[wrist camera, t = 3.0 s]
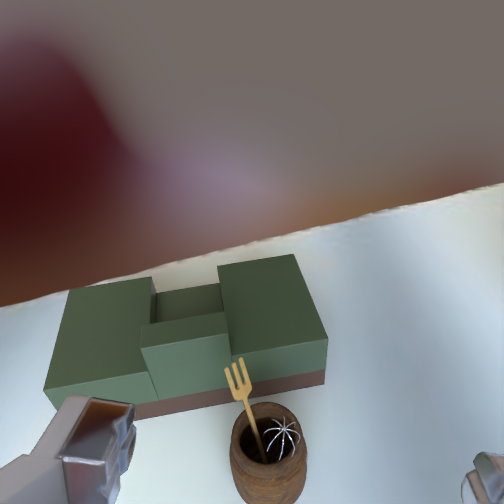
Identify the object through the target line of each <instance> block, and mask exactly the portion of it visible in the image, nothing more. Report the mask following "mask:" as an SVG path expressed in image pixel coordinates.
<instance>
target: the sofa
mask: <svg viewBox="0 0 504 504" xmlns="http://www.w3.org/2000/svg"><path fill="white" fill-rule="evenodd" d="M217 269H218V276H219V283H216V284H210V285H204V286H198V287H191V288H185V289H179V290H173V291H167V292H161V293H156V290H155V287H154V283H153V280H152V277H146V278H139V279H133V280H127V281H121V282H114V283H108V284H102V285H96V286H89V287H83V288H77V289H70V290H69V294H68V298H67V302H66V305H65V309H64V313H63V317H62V321H61V324H60V328H59V332H58V336H57V340H56V343H55V347H54V351H53V355H52V359H51V362H50V366H49V370H48V374H47V378H46V381H45V385H44V389H43V391H44V393H45V394H46V396H47V397H48V398H49V400H50V401H51V403H52V404H53V406H54V407H55V408H56V410H57V411H58V410H59V408H60V407H61V405H62V403H63V402H64V400H65V399H66V398H67V397H68V396H70V395H71V394H76V395H83V396H89V397H96V398H102V399H108V400H114V401H120V402H126V403H132V404H135V408H136V416H135V418H134V421H136V420H141V419H147V418H152V417H157V416H162V415H167V414H172V413H178V412H183V411H188V410H193V409H198V408H203V407H209V406H214V405H219V404H224V403H229V402H234V401H236V400H235V399H234V398H233V395H232V392H231V389H230V386H229V383H228V380H227V377H226V374H225V371H224V369H225V368H226V367H228V368H229V371H230V374H231V377H232V380H233V382H234V385H235V388H237V387H238V384H237V381H236V378H235V375H234V371H233V368H232V363H233V362H235V363H236V366H237V369H238V372H239V375H240V378H241V380H242V383H244V381H245V380H244V377H243V373H242V370H241V367H240V363H239V358H240V357H242V358H243V361H244V364H245V367H246V370H247V373H248V376H249V379H250V382H251V386H252V390H251V391H250V393H249V395H248V397H247V399H250V398H255V397H260V396H265V395H271V394H276V393H281V392H286V391H291V390H296V389H302V388H307V387H312V386H317V385H322V384H324V379H325V367H326V357H327V346H328V337H327V334H326V332H325V329H324V327H323V325H322V322H321V320H320V317H319V315H318V312H317V310H316V308H315V305H314V303H313V300H312V298H311V295H310V293H309V290H308V288H307V286H306V283H305V281H304V278H303V276H302V273H301V271H300V269H299V266H298V264H297V261H296V259H295V256H294V254H289V255H283V256H277V257H270V258H264V259H258V260H252V261H245V262H239V263H233V264H227V265H220V266H217ZM239 401H240V400H239Z"/></svg>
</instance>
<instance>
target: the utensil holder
mask: <svg viewBox="0 0 504 504" xmlns="http://www.w3.org/2000/svg"><path fill="white" fill-rule="evenodd" d="M239 363H240V367H241V370H242V373H243V377H244V380H245V381H244V383H242V380H241V378H240V375H239V372H238V369H237V366H236V363H235V362H233V363H232V368H233V371H234V375H235V378H236V381H237V384H238V387H237V388H235V385H234V382H233V380H232V377H231V374H230V371H229V368H228V367H226V368H225V369H224V371H225V374H226V377H227V380H228V383H229V386H230V389H231V392H232V395H233V398H234V399H235V400H236V401H239V400H243V403H244V406H245V410H244V411H243V412H242V413H241V414H240V415H239V417H238V418H237V420H236V421H235V424H234V426H233V430H232V436H231V444H230V464H231V470H232V474H233V479H234V482H235V485H236V488H237V490H238V492H239V494H240V496H241V497H242V499H243V500H244V501H245V502H246V503H247V504H293V503H294V502H295V501H296V500H297V499H298V497H299V496H300V494H301V492H302V490H303V487H304V484H305V480H306V472H307V448H306V443H305V440H304V437H303V433H302V430H301V427H300V424H299V422H298V420H297V418H296V417H295V415H294V414H293V413H292V412H291V411H290V410H289V409H287V408H286V407H284V406H282V405H280V404H277V403H273V402H261V403H257V404H254V405H252V406H250V405H249V402H248V399H247V397H248V395H249V393H250V391H251V390H252V386H251V382H250V379H249V376H248V373H247V370H246V367H245V364H244V361H243V358H242V357H240V358H239Z"/></svg>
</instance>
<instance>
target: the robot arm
mask: <svg viewBox="0 0 504 504" xmlns="http://www.w3.org/2000/svg"><path fill="white" fill-rule="evenodd" d="M135 416H136V408H135V404H132V403H126V402H120V401H114V400H108V399H102V398H96V397H89V396H83V395H76V394H71V395H70V396H68V397H67V398H66V399H65V400H64V402H63V403H62V405H61V407H60V408H59V410H58V411H57V413H56V414H55V416H54V417H53V419H52V421H51V422H50V424H49V425H48V427H47V428H46V430H45V432H44V433H43V435H42V436H41V438H40V439H39V441H38V442H37V444H36V446H35V447H34V449H33V450H32V452H31V453H30V455H25V454H22V455H21V456H19V457H18V458H16V459H15V460H13V461H12V462H10V463H8V464H7V465H5V466H4V467H2V468H1V469H0V504H115V502H116V499H117V496H118V494H119V491H120V476H121V475H122V474H123V473H124V472H126V471H127V470H128V467H129V464H130V462H131V459H132V455H133V451H134V447H135V442H136V427H135V426H134V425H133V421H134V418H135ZM473 463H474V465H475V467H476V469H474V470H473V471H471V472H469V473H467V474H466V475H465V477H464V479H463V482H462V485H461V498H462V503H463V504H504V454H497V453H489V452H481V453H479V454H477V455H476V457H475V459H474V461H473Z"/></svg>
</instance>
